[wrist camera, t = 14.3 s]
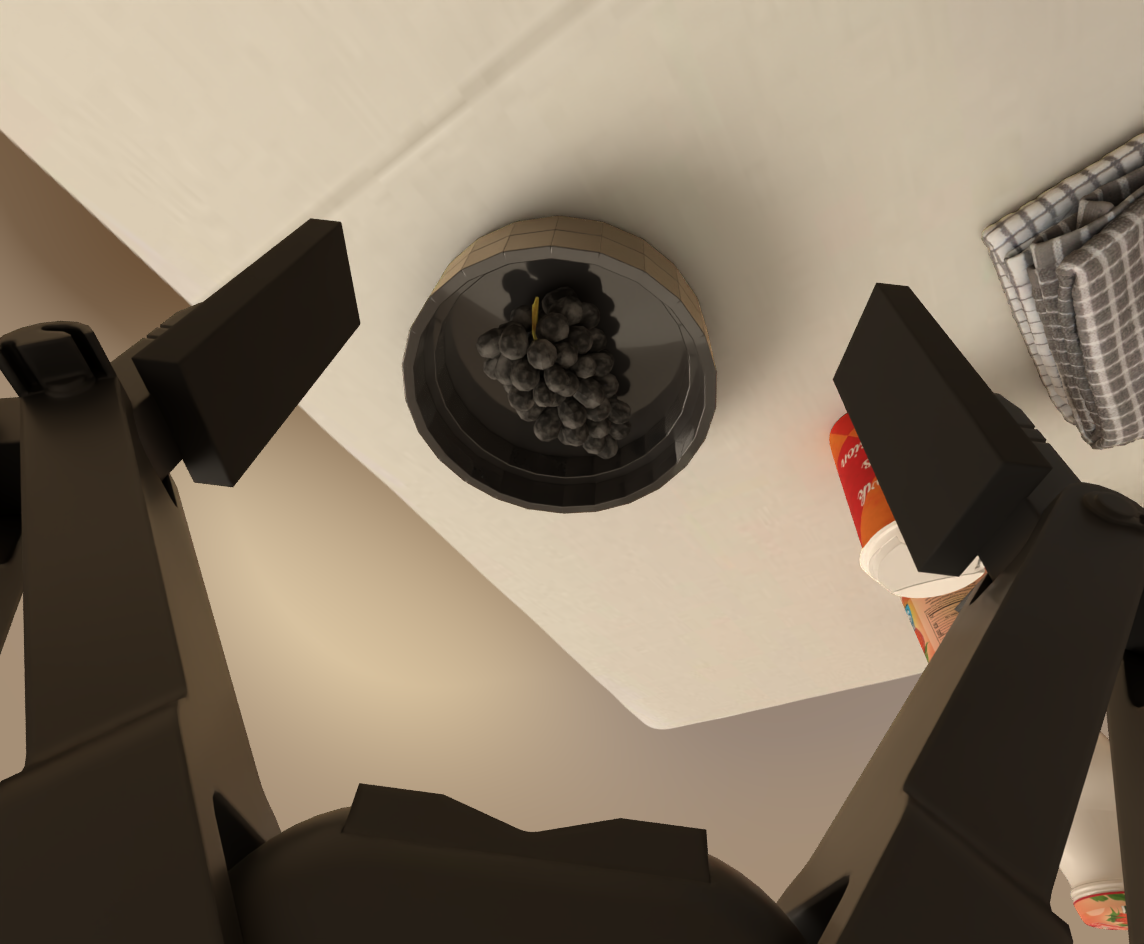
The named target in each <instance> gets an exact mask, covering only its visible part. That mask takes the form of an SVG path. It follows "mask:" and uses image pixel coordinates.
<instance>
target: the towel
mask: <svg viewBox="0 0 1144 944" xmlns="http://www.w3.org/2000/svg"><path fill="white" fill-rule="evenodd" d="M982 240H983V242H984V244H985V245H986V246H987V247H988V248H989V256H990V257H991V259H992V261H993V263H994V266H995V268H996V271H997V274H998V277H999V280H1000V281H1001V284H1002V287H1003V289H1004V293H1005V294H1006V297H1007V299H1008V304H1009V305H1010V307H1011V309H1012V316H1013V318H1014V319H1015V320H1016V322H1017V324H1018V327H1019V329H1020V332H1021V334H1022V336H1023V338H1024V341H1025V343H1026V346H1027V348H1028V352H1029V354H1030V356H1031V357H1032V359H1033V361H1034V364H1035V366H1036V367H1037V370H1038V372H1039V375H1040V378H1041V380H1042V382H1043V384H1044V386H1045V387H1046V389H1047V390H1048V393H1049V397H1050V398H1051V400H1052V402H1053V404H1054V405H1055V407H1056V408H1057V409H1058V410H1059V411H1060V412H1061V413H1062V415H1063V417H1064V419H1065V420H1066V421H1067V422H1069V423H1071V424H1073V425H1076V427H1077V428H1078V430H1079V432H1080V433H1081V437H1082V438H1083V440H1084V441H1085V442H1087V444H1089V445H1090V446H1091V447H1092V449H1100V450H1102V449H1106V448H1113V447H1115V446H1121V445H1126V444H1128V443H1130V442H1134V441H1135V440H1138V439H1144V133H1142V134H1139V135H1137V136H1136V137H1134V138H1132V139H1131V140H1129V141H1128V142H1127V143H1126V144H1124V145H1123V146H1120V147H1119V148H1117V149H1116V150H1114V151H1112V152H1110V153H1108V154H1107V155H1105V156H1104V157H1103V158H1102V159H1101V160H1100V161H1098V162H1095V163H1093V164H1092V165H1089V166H1088V167H1086V168H1085V169H1083V170H1081V171H1080V172H1078V173H1077V174H1075V175H1072V176H1070V177H1068V178H1066V179H1064V180H1063V181H1062V182H1060V183H1058V184H1057V185H1056V186H1055V187H1052V188H1050V189H1049V190H1047V191H1046V192H1044V193H1042V194H1041V195H1039V196H1038V198H1037V199H1036V200H1032V201H1030V202H1029V203H1027V204H1025V205H1023V206H1022V207H1021V208H1020V209H1019V210H1018V211H1016V212H1015V213H1011V214H1008V215H1007V216H1005V217H1003V218H1001V219H1000V220H999V221H998V222H997V223H995V224H992V225H990V226H988V227H987V228H986V229H985V230H984V231H983V232H982Z"/></svg>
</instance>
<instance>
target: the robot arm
mask: <svg viewBox="0 0 1144 944" xmlns="http://www.w3.org/2000/svg"><path fill="white" fill-rule="evenodd" d="M359 325H360V319H359V314H358V308H357V303H356V298H355V292H354V287H353V282H352V277H351V271H350V266H349V261H348V255H347V250H346V245H345V239H344V234H343V229H342V224H341V222H337V221H328V220H320V219H309V220H308V221H307V222H305V223H304V224H303V225H302V226H300V227H299V228H298V229H296V230H295V231H294V232H293V233H291V234H290V235H289V236H287V237H286V238H285V239H284V240H282V241H281V242H280V243H278V244H277V245H276V246H275V247H273V248H272V249H271V250H269V251H268V252H267V253H266V254H264V255H263V256H262V257H260V258H259V259H258V260H257V261H255V262H254V263H253V264H251V265H250V266H249V267H247V268H246V269H245V270H244V271H242V272H241V273H240V274H238V275H237V276H236V277H235V278H233V279H232V280H231V281H229V282H228V283H227V284H226V285H224V286H223V287H222V288H220V289H219V290H218V291H217V292H215V293H214V294H213V295H211V296H210V297H209V298H208V299H206V300H205V301H204V302H201V303H198V304H196V305H193V306H191V307H189V308H186V309H184V310H181V311H179V312H177V313H175V314H174V315H173V316H171V317H170V318H169V319H167V320H166V321H165V322H163V323H162V324H161V325H160V328H155V329H154V330H153V331H152V332H150V333H149V334H148V335H147V338H142V339H141V340H140V341H138V342H137V343H136V344H135V345H133V346H132V347H130V348H129V349H128V350H126V351H125V352H124V353H122V354H121V355H120V356H118V357H117V358H116V359H115V360H113V361H112V362H109V360H108V358H107V356H106V355H105V352H104V350H103V348H102V347H101V345H100V343H99V341H98V339H97V337H96V335H95V334H94V332H93V331H92V329H91V328H90V327H89V326H88V325H85V324H82V323H79V322H70V321H56V322H46V323H39V324H35V325H31V326H27V327H23V328H20V329H17V330H15V331H12V332H10V333H8V334H5V335H3V336H2V337H1V338H0V370H1V371H2V373H3V374H4V376H5V377H6V379H7V380H8V381H9V383H10V384H11V385H12V387H13V389H14V390H15V391H16V393H17V394H18V396H19V397H17V398H16V397H15V398H1V399H0V654H1V651H2V648H3V645H4V642H5V640H6V637H7V634H8V632H9V629H10V626H11V623H12V620H13V618H14V615H15V612H16V610H17V607H18V604H19V601H20V599H21V596H22V593H23V611H24V613H23V614H24V659H25V660H24V664H25V713H26V761H25V767H24V768H23V770H22V772H20V773H18V774H15V775H13V776H11V777H9V778H7V779H4V780H2V781H1V782H0V944H1073V939H1072V936H1071V932H1070V928H1069V925H1068V924H1067V923H1065V922H1064V921H1063V920H1062V919H1061V918H1059V917H1058V916H1057V915H1056V914H1054V913H1053V912H1052V910H1051V906H1050V899H1051V893H1052V889H1053V886H1054V882H1055V879H1056V876H1057V872H1058V869H1059V866H1060V862H1061V859H1062V856H1063V853H1064V849H1065V846H1066V843H1067V839H1068V836H1069V833H1070V829H1071V826H1072V823H1073V820H1074V816H1075V813H1076V810H1077V806H1078V803H1079V800H1080V796H1081V793H1082V790H1083V787H1084V783H1085V780H1086V777H1087V773H1088V770H1089V767H1090V763H1091V760H1092V757H1093V754H1094V750H1095V747H1096V744H1097V740H1098V737H1099V734H1100V730H1101V727H1102V724H1103V720H1104V717H1105V714H1106V712H1107V722H1108V732H1109V742H1110V752H1111V762H1112V772H1113V782H1114V792H1115V802H1116V813H1117V823H1118V833H1119V843H1120V853H1121V863H1122V873H1123V883H1124V893H1125V903H1126V913H1127V923H1128V932H1129V944H1144V508H1142V507H1141V506H1140V505H1139V504H1137V503H1136V502H1135V501H1133V500H1131V499H1129V498H1128V497H1126V496H1124V495H1122V494H1120V493H1119V492H1116V491H1114V490H1111V489H1108V488H1106V487H1103V486H1100V485H1095V484H1090V483H1085V482H1081V481H1080V480H1079V479H1078V477H1077V476H1076V475H1075V474H1074V473H1073V471H1072V470H1071V469H1070V468H1069V467H1068V465H1067V464H1066V463H1065V462H1064V461H1063V459H1062V458H1061V457H1060V456H1059V455H1058V453H1057V452H1056V451H1055V450H1054V449H1053V447H1052V446H1051V445H1050V444H1049V443H1046V439H1045V438H1044V436H1043V435H1042V434H1041V433H1040V432H1039V430H1037V429H1034V427H1035V426H1034V424H1033V423H1032V422H1031V421H1030V420H1029V418H1028V417H1027V416H1026V415H1025V414H1024V412H1023V411H1022V410H1021V409H1020V408H1018V407H1017V406H1015V405H1014V404H1013V403H1011V402H1010V401H1008V400H1007V399H1006V398H1004V397H1003V396H1001V395H1000V394H997V393H993V392H992V391H991V389H990V388H989V387H988V386H987V384H986V383H985V382H984V381H983V379H982V378H981V377H980V376H979V374H978V373H977V372H976V371H975V369H974V368H973V367H972V366H971V364H970V363H969V362H968V361H967V359H966V358H965V357H964V356H963V354H962V353H961V352H960V351H959V349H958V348H957V347H956V345H955V344H954V343H953V342H952V340H951V339H950V338H949V337H948V335H947V334H946V333H945V332H944V330H943V329H942V328H941V327H940V325H939V324H938V323H937V322H936V320H935V319H934V318H933V317H932V315H931V314H930V313H929V312H928V310H927V309H926V308H925V307H924V305H923V304H922V303H921V302H920V300H919V299H918V298H917V297H916V295H915V294H914V293H913V292H912V290H911V289H910V288H909V287H908V286H901V285H892V284H883V283H876V285H875V287H874V289H873V291H872V294H871V296H870V298H869V300H868V302H867V305H866V307H865V309H864V311H863V314H862V316H861V318H860V320H859V322H858V325H857V327H856V329H855V331H854V334H853V336H852V338H851V340H850V342H849V345H848V347H847V349H846V351H845V353H844V356H843V358H842V360H841V362H840V365H839V367H838V369H837V371H836V373H835V376H834V378H833V381H834V383H835V385H836V388H837V390H838V392H839V394H840V397H841V399H842V401H843V403H844V406H845V408H846V410H847V412H848V415H849V417H850V419H851V421H852V424H853V426H854V428H855V430H856V433H857V435H858V437H859V440H860V442H861V444H862V446H863V449H864V451H865V453H866V455H867V458H868V460H869V462H870V464H871V467H872V469H873V471H874V473H875V476H876V478H877V480H878V482H879V485H880V487H881V489H882V491H883V494H884V496H885V498H886V501H887V503H888V505H889V507H890V510H891V512H892V514H893V516H894V519H895V521H896V523H897V525H898V528H899V530H900V532H901V534H902V537H903V539H904V541H905V543H906V546H907V548H908V550H909V552H910V555H911V557H912V559H913V562H914V564H915V566H916V568H917V571H918V572H923V573H931V574H939V575H947V576H955V577H960V575H961V574H962V573H963V572H964V571H965V570H966V568H967V567H968V566H969V565H970V564H971V563H972V561H973V560H974V559H975V558H976V557H977V556H979V558H980V560H981V562H982V563H983V565H984V567H985V569H986V571H987V573H986V575H985V576H984V577H983V578H982V579H981V580H980V581H979V582H978V583H977V584H976V586H975V587H974V588H973V589H972V590H971V591H970V592H969V593H968V594H967V595H966V597H965V598H964V599H963V600H962V601H961V602H960V603H959V604H958V605H957V606H956V608H955V609H954V610H956V611H957V612H959V614H958V615H957V617H956V619H955V620H954V622H953V624H952V625H951V627H950V629H949V630H948V632H947V634H946V635H945V637H944V639H943V640H942V642H941V644H940V645H939V647H938V649H937V650H936V652H935V653H934V655H933V657H932V658H931V660H930V662H929V663H928V665H927V667H926V668H925V670H924V672H923V673H922V675H921V677H920V678H919V680H918V682H917V683H916V685H915V687H914V689H913V690H912V692H911V693H910V695H909V697H908V698H907V700H906V701H905V703H904V705H903V706H902V708H901V710H900V711H899V713H898V715H897V716H896V718H895V720H894V721H893V723H892V725H891V726H890V728H889V730H888V731H887V733H886V735H885V736H884V738H883V740H882V741H881V743H880V744H879V746H878V748H877V749H876V751H875V753H874V754H873V756H872V758H871V760H870V761H869V763H868V764H867V766H866V768H865V769H864V771H863V773H862V774H861V776H860V778H859V779H858V781H857V782H856V784H855V786H854V787H853V789H852V791H851V792H850V794H849V796H848V797H847V799H846V801H845V802H844V804H843V806H842V807H841V809H840V811H839V812H838V814H837V816H836V817H835V819H834V820H833V822H832V824H831V826H830V827H829V829H828V831H827V832H826V834H825V835H824V837H823V839H822V840H821V842H820V844H819V846H818V847H817V849H816V850H815V852H814V854H813V855H812V857H811V858H810V860H809V861H808V863H807V864H806V865H805V867H804V868H803V869H802V871H801V872H800V873H799V874H798V875H797V877H796V878H795V879H794V880H793V882H792V883H791V884H790V885H789V887H788V888H787V889H786V890H785V892H784V893H783V895H782V896H781V897H780V899H779V900H778V901H777V903H775V902H774V901H773V900H772V899H771V898H770V897H769V896H768V895H767V894H766V893H765V892H764V891H763V890H762V889H761V888H759V887H758V886H757V885H756V884H754V883H753V882H752V881H751V880H749V879H748V878H747V877H745V876H744V875H743V874H742V873H740V872H739V871H737V870H735V869H734V868H732V867H730V866H729V865H727V864H726V863H724V862H723V861H721V860H719V859H718V858H715V857H713V856H711V855H709V854H708V848H707V834H706V830H705V829H698V828H689V827H683V826H674V825H668V824H660V823H652V822H645V821H637V820H630V819H623V818H619V819H613V820H606V821H600V822H594V823H589V824H582V825H576V826H570V827H564V828H558V829H552V830H546V831H540V832H526V831H522V830H520V829H517V828H515V827H513V826H511V825H509V824H507V823H504V822H502V821H500V820H498V819H495V818H493V817H491V816H489V815H487V814H484V813H483V812H480V811H478V810H476V809H474V808H472V807H469V806H467V805H465V804H463V803H461V802H458V801H456V800H454V799H452V798H450V797H448V796H446V795H443V794H435V793H428V792H421V791H413V790H406V789H398V788H391V787H383V786H375V785H368V784H361V783H360V784H359V786H358V789H357V792H356V794H355V798H354V800H353V803H352V806H351V807H346V808H341V809H337V810H334V811H330V812H327V813H324V814H320V815H317V816H315V817H313V818H311V819H308V820H305V821H303V822H301V823H298V824H296V825H294V826H292V827H291V828H289V829H287V830H285V831H283V832H281V830H280V828H279V825H278V823H277V820H276V818H275V816H274V813H273V811H272V809H271V807H270V805H269V803H268V801H267V799H266V796H265V794H264V791H263V789H262V786H261V782H260V779H259V776H258V772H257V769H256V766H255V762H254V758H253V755H252V751H251V748H250V745H249V740H248V737H247V733H246V730H245V727H244V723H243V719H242V716H241V712H240V709H239V705H238V702H237V698H236V694H235V691H234V687H233V684H232V680H231V677H230V674H229V670H228V666H227V663H226V659H225V655H224V652H223V649H222V645H221V641H220V638H219V634H218V631H217V627H216V624H215V620H214V616H213V613H212V610H211V606H210V602H209V599H208V595H207V592H206V588H205V585H204V581H203V578H202V574H201V570H200V567H199V564H198V560H197V556H196V553H195V550H194V546H193V542H192V539H191V535H190V532H189V528H188V524H187V521H186V517H185V514H184V510H183V507H182V503H181V500H180V496H179V492H178V489H177V486H176V484H175V482H174V480H173V479H172V477H171V475H170V472H171V471H172V470H173V469H174V468H175V466H176V465H177V464H178V463H179V462H180V461H181V460H182V459H183V461H184V463H185V465H186V467H187V469H188V471H189V473H190V475H191V477H192V479H193V481H194V482H195V483H203V484H211V485H219V486H227V487H233V486H234V485H235V484H236V483H237V482H238V480H239V479H240V478H241V477H242V475H243V474H244V473H245V471H246V470H247V469H248V468H249V466H250V465H251V464H252V462H253V461H254V460H255V458H256V457H257V456H258V455H259V453H260V452H261V451H262V450H263V448H264V447H265V446H266V444H267V443H268V442H269V440H270V439H271V438H272V437H273V435H274V434H275V433H276V432H277V430H278V429H279V428H280V427H281V425H282V424H283V423H284V421H285V420H286V419H287V418H288V416H289V415H290V414H291V412H292V411H293V410H294V408H295V407H296V406H297V405H298V403H299V402H300V401H301V400H302V398H303V397H304V396H305V394H306V393H307V392H308V391H309V389H310V388H311V387H312V386H313V384H314V383H315V382H316V380H317V379H318V378H319V377H320V375H321V374H322V373H323V371H324V370H325V369H326V368H327V366H328V365H329V364H330V362H331V361H332V360H333V359H334V357H335V356H336V355H337V353H338V352H339V351H340V350H341V348H342V347H343V346H344V344H345V343H346V342H347V341H348V339H349V338H350V337H351V336H352V334H353V333H354V332H355V330H356V329H357V328H358V327H359Z"/></svg>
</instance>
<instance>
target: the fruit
mask: <svg viewBox="0 0 1144 944" xmlns="http://www.w3.org/2000/svg"><path fill="white" fill-rule="evenodd" d="M538 305H539V297H536V298H535V301H534V304H533V305H532V308H531V307H530V306H528V305H521V306H519V307H517V308H515V309H514V310H512V312H511V316H510V321H509V322H507V323H504V324H501V325H499V327H498V328H493V329H491V330H489V331H487V332H486V333H484V334H482V335H481V336H479V338H478V340H477V343H476V347H477V350H478V352H479V354H480V355H481V356H482V357H486V358H487V359H486V360H485V361H484V369H483V371H484V372H485V373H486V375H487V376H488V377H490V378H491V379H493V380H495V379H497V380H498V381H499V382H500V383H501V384H504V389H505V391H506V392H507V393H508V399H509V402H510V405H511V406H512V407H513V408H514V409H516V412H517V413H518V415H519V416H520V418H521V419H523V420H525V421H527V422H530V421H534V420H536V422H535V424H534V433H535V435H536V436H537V437H538V438H539V439H540V440H542V441H547V442H549V441H551V440H553V439H556V438H557V437H558V439H559V440H560V441H561V442H562V443H563V444H565V445H573V446H576V447H577V446H579V445H582V444H583V448H584V449H585V450H586V451H587V452H588V453H592V454H597V456H599V457H601V458H603V459H609V458H611V457H613V456H615V455H616V453H617V450H618V445H617V441H616V439H623V438H625V437H626V436H628V435H629V433H630V430H631V424H630V422H629V418H630V416H631V408H630V406H629V405H628V404H627V403H625V402H623V401H621V400H619V399H617V397H618V396H617V395H616V392H617V390H618V387H619V383H618V381H617V379H616V377H615V376H614V375H613V374H610V373H609V372H610V371H611V370H612V368H613V365H614V357H613V355H612V354H611V353H610V352H608V351H606V350H603V349H604V348H605V347H606V343H607V339H606V335H605V334H604V332H603V331H602V330H600V329H597V328H594V327H595V326H597V325H598V323H599V321H600V312H599V310H598V308H597V307H596V306H595V305H594V304H591V303H585V302H583V303H581V301H580V300H579V299H578V296H577V294H576V293H575V292H574V290H573V289H571V288H569V287H560V288H558V289H556V290H554V291H552V292H549V293H547V294H546V296H545V297H544V298H543V300H542V308H543V309H541V310H540V311H539V313H538ZM530 331H532V332H531V333H530V335H529V337H528V334H527V332H530Z"/></svg>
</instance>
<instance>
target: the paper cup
mask: <svg viewBox="0 0 1144 944" xmlns="http://www.w3.org/2000/svg"><path fill="white" fill-rule="evenodd" d="M829 440H830V446H831V450H832V454H833V457H834V461H835V464H836V467H837V471H838V474H839V477H840V480H841V483H842V486H843V490H844V493H845V496H846V499H847V502H848V505H849V508H850V512H851V515H852V518H853V521H854V524H855V527H856V530H857V533H858V536H859V540H860V543H861V546H862V550H861V553H860V566H861V568H862V569H863V570H864V571H865V572H866V573H867V574H868V575H869V576H870V577H871V578H872V579H874V580H875V581H877V582H878V583H880V584H881V585H882V586H883V587H884V588H885V589H887V590H888V591H889V592H891V593H892V594H894V595H898V596H902V597H908V598H928V597H935V596H940V595H944V594H948V593H951V592H954V591H957V590H959V589H961V588H964V587H966V586H968V585H969V584H971V583H973V582H974V581H975V580H977V579H978V578H979V577H981V576H982V575H983V574H984V572H985V569H984V568H985V567H984V565H983V563H982V562H981V560H980V558H979V556H977V557H976V558H975V559H974V560H973V561H972V563H971V564H970V565H969V566H968V567H967V568H966V570H965V571H964V572H963V573H962V574H961V575H960V577H955V576H947V575H939V574H931V573H923V572H918V571H917V568H916V566H915V564H914V562H913V559H912V557H911V555H910V552H909V550H908V548H907V546H906V543H905V541H904V539H903V537H902V534H901V532H900V530H899V528H898V525H897V523H896V521H895V519H894V516H893V514H892V512H891V510H890V507H889V505H888V503H887V501H886V498H885V496H884V494H883V491H882V489H881V487H880V485H879V482H878V480H877V478H876V476H875V473H874V471H873V469H872V467H871V464H870V462H869V460H868V458H867V455H866V453H865V451H864V449H863V446H862V444H861V442H860V440H859V437H858V435H857V433H856V430H855V428H854V426H853V424H852V421H851V419H850V417H849V415H848V413H847V414H845V415H844V416H842V417H841V418H840V419H839V420H838V421H837V422H836V423H835V425H834V426H833V428H832V430H831V433H830V439H829Z"/></svg>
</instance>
